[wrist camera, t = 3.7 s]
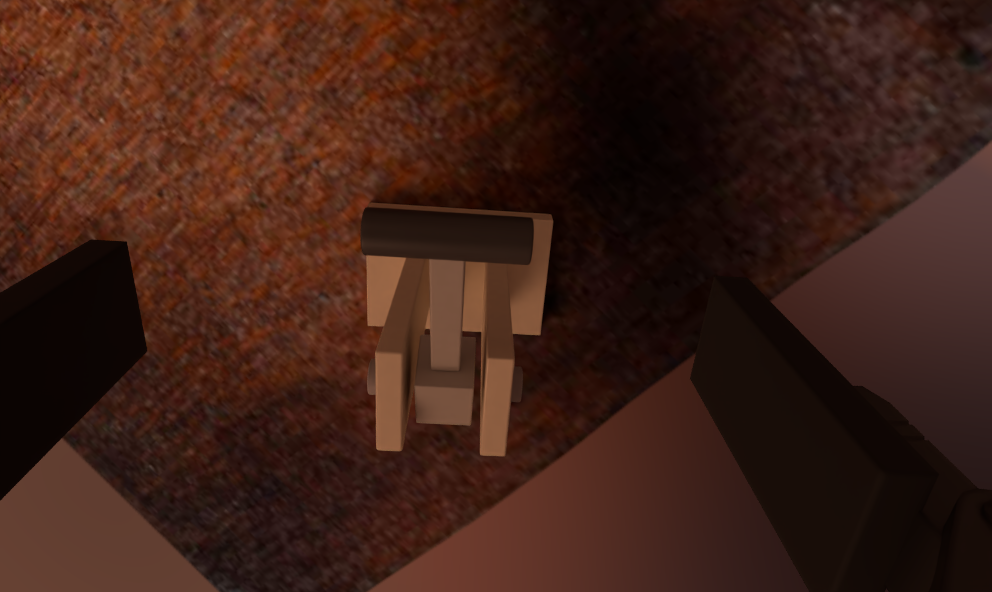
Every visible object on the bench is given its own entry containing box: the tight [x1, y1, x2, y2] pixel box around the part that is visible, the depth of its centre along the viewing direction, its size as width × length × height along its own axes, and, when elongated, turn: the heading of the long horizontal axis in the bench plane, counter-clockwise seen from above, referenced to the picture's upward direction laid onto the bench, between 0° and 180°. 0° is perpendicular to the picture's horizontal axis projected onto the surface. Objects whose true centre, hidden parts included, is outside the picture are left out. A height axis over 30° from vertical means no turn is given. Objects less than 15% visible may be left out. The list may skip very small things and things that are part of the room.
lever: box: [361, 207, 534, 425], centre depth 22 cm, size 10×5×2 cm, turn 177°
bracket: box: [367, 203, 553, 456], centre depth 29 cm, size 7×10×14 cm
